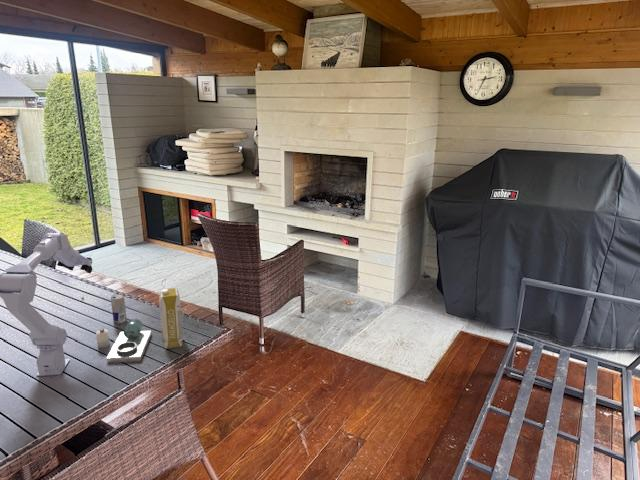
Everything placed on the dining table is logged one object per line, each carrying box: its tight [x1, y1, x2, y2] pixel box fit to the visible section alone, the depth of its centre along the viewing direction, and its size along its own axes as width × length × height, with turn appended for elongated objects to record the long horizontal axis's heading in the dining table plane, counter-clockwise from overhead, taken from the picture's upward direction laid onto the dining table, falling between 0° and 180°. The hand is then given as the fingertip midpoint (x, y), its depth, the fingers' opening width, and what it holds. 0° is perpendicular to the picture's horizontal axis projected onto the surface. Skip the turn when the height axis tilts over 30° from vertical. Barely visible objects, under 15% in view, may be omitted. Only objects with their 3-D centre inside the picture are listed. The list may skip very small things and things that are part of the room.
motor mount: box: [106, 318, 152, 363], centre depth 175 cm, size 20×12×8 cm, turn 9°
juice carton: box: [158, 287, 184, 349], centre depth 177 cm, size 9×8×24 cm
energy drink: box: [110, 293, 127, 324], centre depth 194 cm, size 5×5×12 cm
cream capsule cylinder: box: [95, 328, 111, 349], centre depth 176 cm, size 4×4×7 cm
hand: (81, 269), depth 180 cm, fingers open, 7 cm apart
